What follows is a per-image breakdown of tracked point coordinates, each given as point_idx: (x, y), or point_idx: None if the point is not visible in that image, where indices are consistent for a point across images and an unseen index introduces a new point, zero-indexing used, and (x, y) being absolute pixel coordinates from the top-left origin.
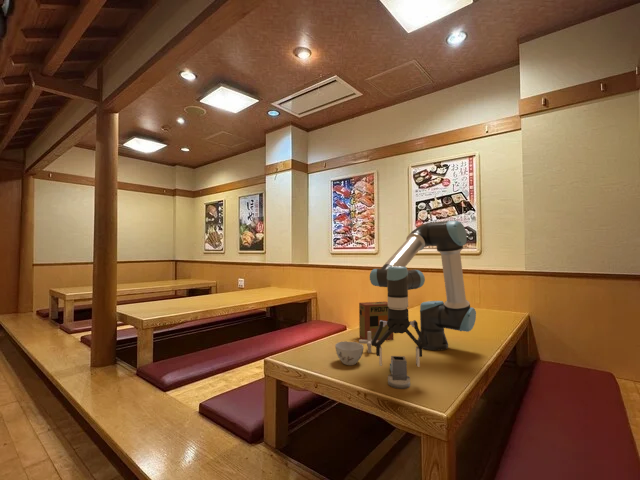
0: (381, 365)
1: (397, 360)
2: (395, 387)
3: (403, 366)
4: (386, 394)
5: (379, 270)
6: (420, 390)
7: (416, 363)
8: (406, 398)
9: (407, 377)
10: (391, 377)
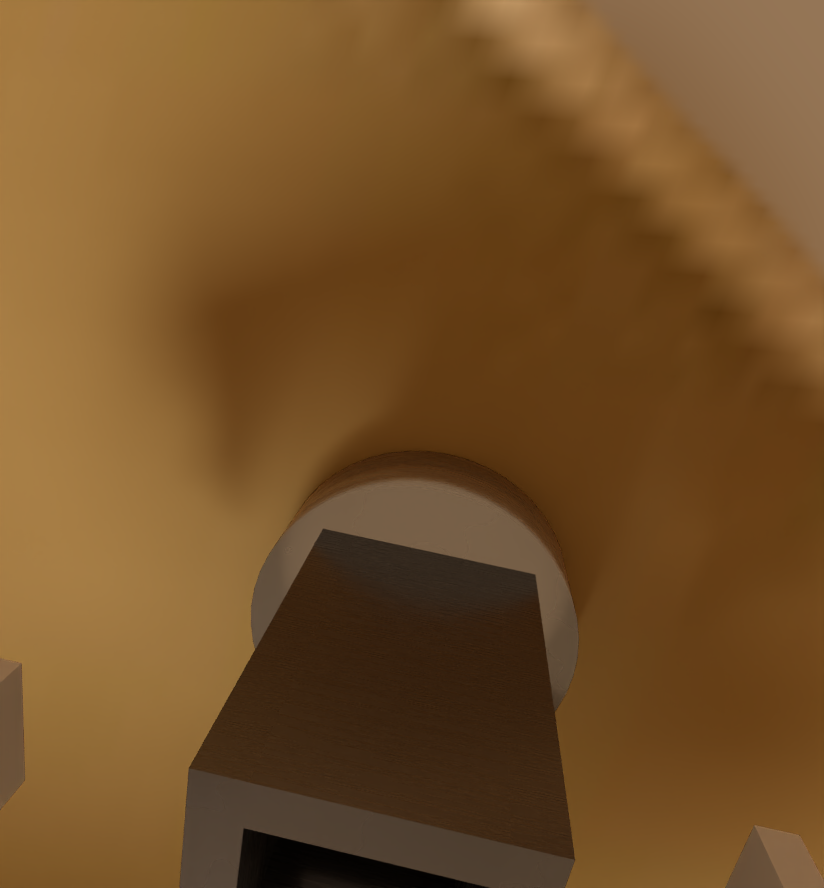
0: (771, 834)
1: (435, 828)
2: (510, 485)
3: (315, 681)
4: (722, 301)
5: None
6: (196, 379)
7: (6, 771)
8: (471, 138)
9: None
10: None
